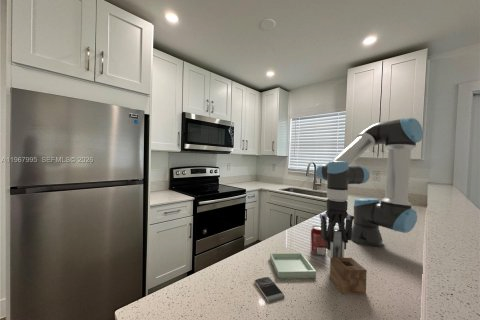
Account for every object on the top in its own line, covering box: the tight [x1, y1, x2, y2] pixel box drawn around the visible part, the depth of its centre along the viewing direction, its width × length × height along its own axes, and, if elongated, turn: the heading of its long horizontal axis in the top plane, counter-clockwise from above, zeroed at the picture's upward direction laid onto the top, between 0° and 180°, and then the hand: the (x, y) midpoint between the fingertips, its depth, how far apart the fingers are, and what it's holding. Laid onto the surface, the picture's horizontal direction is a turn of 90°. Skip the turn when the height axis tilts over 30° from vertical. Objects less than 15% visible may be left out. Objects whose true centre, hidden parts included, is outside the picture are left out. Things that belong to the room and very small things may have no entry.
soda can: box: [310, 225, 327, 256], centre depth 92 cm, size 7×7×12 cm
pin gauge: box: [331, 228, 342, 258], centre depth 78 cm, size 4×4×12 cm
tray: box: [269, 252, 317, 280], centre depth 79 cm, size 14×14×2 cm
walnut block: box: [329, 257, 367, 295], centre depth 68 cm, size 8×8×8 cm
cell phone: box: [253, 276, 285, 304], centre depth 65 cm, size 6×11×1 cm, turn 21°
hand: (335, 257), depth 78 cm, fingers closed on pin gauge, 4 cm apart
